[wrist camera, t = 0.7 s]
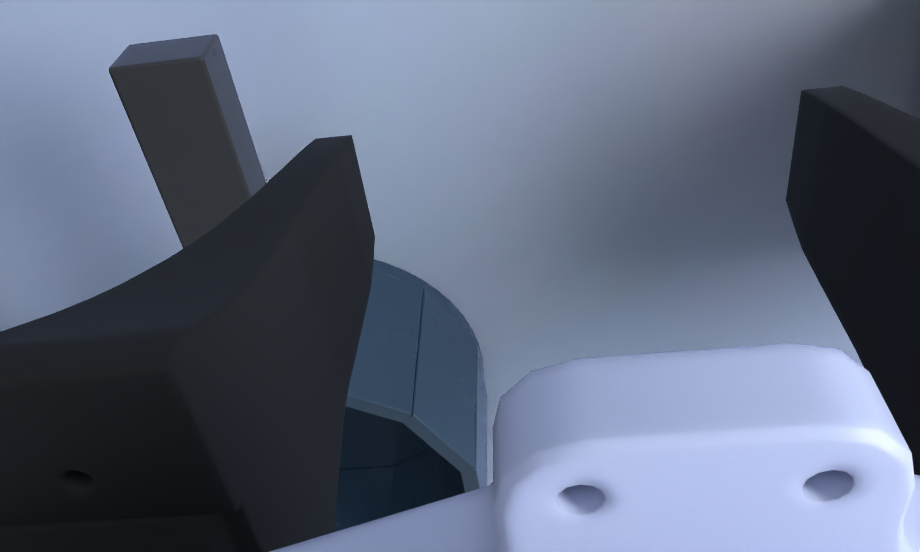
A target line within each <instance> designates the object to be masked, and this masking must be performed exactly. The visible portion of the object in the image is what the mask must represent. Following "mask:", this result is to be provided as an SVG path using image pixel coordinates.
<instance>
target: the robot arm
mask: <svg viewBox="0 0 920 552" xmlns="http://www.w3.org/2000/svg"><path fill="white" fill-rule="evenodd" d="M786 202H787V205H788V209H789V212H790V215H791V218H792V221H793V225H794V228H795V230H796V233H797V236H798V239H799V242H800V245H801V247H802V250H803V252H804V254H805V256H806V258H807V260H808V262H809V264H810V265H811V267H812V269H813V271H814V273H815V275H816V277H817V279H818V281H819V283H820V285H821V286H822V288H823V290H824V292H825V294H826V296H827V297H828V299H829V301H830V303H831V305H832V307H833V309H834V310H835V312H836V314H837V316H838V318H839V320H840V322H841V323H842V325H843V327H844V329H845V331H846V333H847V335H848V336H849V338H850V340H851V342H852V344H853V346H854V348H855V349H856V352H857V354H858V356H859V358H860V360H861V362H862V364H863V366H864V367H862V366H861V365H860V364H858V363H857V362H856V361H854V360H853V359H852V358H850V357H849V356H848V355H846V354H845V353H844V352H842V351H841V350H840V349H834V348H826V347H818V346H810V345H801V344H793V343H787V344H773V345H759V346H745V347H732V348H718V349H704V350H690V351H676V352H662V353H649V354H635V355H621V356H607V357H593V358H579V359H574V360H571V361H567V362H563V363H559V364H556V365H552V366H548V367H545V368H541V369H537V370H533V371H531V372H530V373H528V374H527V375H526V376H525V377H524V378H522V379H521V380H520V381H519V382H518V383H517V384H515V385H514V386H513V387H512V388H511V389H509V390H508V391H507V392H506V393H505V394H504V395H502V396H501V397H500V401H499V405H498V409H497V413H496V418H495V422H494V426H493V483H492V484H491V485H489V486H486V487H483V488H480V489H476V490H473V491H470V492H466V493H463V494H460V495H456V496H453V497H450V498H446V499H443V500H440V501H436V502H433V503H430V504H426V505H423V506H420V507H416V508H413V509H410V510H406V511H403V512H400V513H396V514H393V515H390V516H386V517H383V518H380V519H376V520H373V521H370V522H366V523H363V524H360V525H356V526H353V527H350V528H346V529H343V530H340V531H336V532H335V519H336V504H337V491H338V479H339V467H340V455H341V445H342V435H343V425H344V415H345V406H346V400H347V395H348V389H349V383H350V379H351V375H352V370H353V366H354V361H355V357H356V353H357V348H358V344H359V339H360V335H361V331H362V326H363V322H364V317H365V313H366V308H367V303H368V299H369V294H370V289H371V284H372V272H373V259H374V242H375V235H374V231H373V226H372V222H371V218H370V213H369V209H368V204H367V200H366V196H365V191H364V187H363V183H362V178H361V174H360V169H359V165H358V161H357V156H356V152H355V148H354V143H353V139H352V135H349V136H339V137H329V138H319V139H315V140H314V141H312V142H311V143H310V144H309V145H307V146H306V147H305V148H304V149H303V150H302V151H301V152H300V153H298V154H297V155H296V156H295V157H294V158H293V159H292V160H291V161H290V162H289V163H288V164H287V165H286V166H285V167H284V168H283V169H282V170H280V171H279V172H278V173H277V174H276V175H275V176H274V177H273V178H272V179H271V180H270V181H269V182H268V183H266V184H265V185H264V186H263V187H262V188H261V189H260V190H259V191H258V192H257V193H256V194H254V195H253V196H252V197H251V198H250V199H248V200H247V201H246V202H245V203H244V204H242V205H241V206H240V207H239V208H238V209H236V210H235V211H234V212H233V213H232V214H230V215H229V216H228V217H227V218H226V219H224V220H223V221H222V222H221V223H220V224H218V225H217V226H216V227H214V228H213V229H212V230H210V231H209V232H207V233H206V234H205V235H203V236H202V237H200V238H199V239H198V240H196V241H195V242H193V243H192V244H190V245H188V246H187V247H185V248H184V249H182V250H181V251H179V252H178V253H176V254H175V255H173V256H171V257H170V258H168V259H166V260H165V261H163V262H161V263H159V264H157V265H156V266H154V267H152V268H150V269H148V270H146V271H145V272H143V273H141V274H139V275H137V276H135V277H134V278H132V279H130V280H128V281H126V282H125V283H122V284H120V285H118V286H116V287H114V288H112V289H110V290H108V291H106V292H103V293H101V294H99V295H97V296H95V297H92V298H90V299H88V300H85V301H83V302H81V303H78V304H76V305H74V306H71V307H69V308H66V309H64V310H61V311H59V312H56V313H53V314H51V315H48V316H45V317H42V318H39V319H36V320H33V321H30V322H27V323H25V324H22V325H19V326H16V327H13V328H10V329H7V330H4V331H1V332H0V552H920V120H919V119H917V118H915V117H913V116H911V115H909V114H906V113H904V112H902V111H900V110H898V109H896V108H894V107H892V106H889V105H887V104H885V103H883V102H881V101H879V100H876V99H874V98H872V97H870V96H867V95H865V94H863V93H860V92H858V91H855V90H853V89H850V88H846V87H843V86H838V87H828V88H818V89H808V90H801V97H800V104H799V111H798V118H797V125H796V132H795V139H794V146H793V153H792V161H791V168H790V175H789V182H788V189H787V196H786Z"/></svg>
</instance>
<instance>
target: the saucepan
mask: <svg viewBox="0 0 920 552" xmlns="http://www.w3.org/2000/svg"><path fill="white" fill-rule="evenodd" d="M109 73H110V75H111V78H112V80H113V82H114V85H115V87H116V89H117V92H118V94H119V97H120V99H121V101H122V104H123V106H124V109H125V111H126V113H127V116H128V118H129V120H130V123H131V125H132V128H133V130H134V132H135V135H136V137H137V139H138V142H139V144H140V147H141V149H142V151H143V154H144V156H145V159H146V161H147V163H148V166H149V168H150V170H151V173H152V175H153V178H154V180H155V182H156V185H157V187H158V189H159V192H160V194H161V197H162V199H163V201H164V204H165V206H166V209H167V211H168V213H169V216H170V218H171V220H172V223H173V225H174V228H175V230H176V232H177V235H178V237H179V240H180V242H181V244H182V247H183V249H184V248H185V247H187V246H188V245H190V244H192V243H193V242H195V241H196V240H198V239H199V238H200V237H202V236H203V235H205V234H206V233H207V232H209V231H210V230H212V229H213V228H214V227H216V226H217V225H218V224H220V223H221V222H222V221H223V220H224V219H226V218H227V217H228V216H229V215H230V214H232V213H233V212H234V211H235V210H236V209H238V208H239V207H240V206H241V205H242V204H244V203H245V202H246V201H247V200H248V199H250V198H251V197H252V196H253V195H254V194H256V193H257V192H258V191H259V190H260V189H261V188H262V187H263V186H264V185H265V184H266V181H265V178H264V175H263V172H262V169H261V166H260V163H259V160H258V157H257V154H256V151H255V147H254V144H253V141H252V138H251V135H250V132H249V129H248V126H247V123H246V120H245V117H244V113H243V110H242V107H241V104H240V101H239V98H238V95H237V92H236V89H235V86H234V83H233V80H232V76H231V73H230V70H229V67H228V64H227V61H226V58H225V55H224V52H223V49H222V46H221V42H220V39H219V37H218V35H215V34H213V35H205V36H197V37H189V38H181V39H173V40H165V41H157V42H149V43H141V44H133V45H129V46H128V47H127V48H126V49H125V50H124V51H123V53H122V54H121V55H120V56H119V57H118V58H117V60H116V61H115V62H114V63H113V64H112V65H111V67H110V68H109ZM486 486H487V397H486V390H485V384H484V378H483V362H482V356H481V352H480V348H479V344H478V342H477V340H476V337H475V335H474V333H473V330H472V329H471V327H470V326H469V324H468V323H467V321H466V320H465V318H464V316H463V315H462V314H461V313H460V312H459V311H458V309H457V308H456V307H455V306H454V305H453V304H452V303H451V302H450V301H449V300H448V299H447V298H446V297H445V296H443V295H442V294H441V293H440V292H439V291H438V290H436V289H435V288H433V287H432V286H430V285H429V284H427V283H426V282H424V281H423V280H421V279H420V278H418V277H416V276H414V275H412V274H410V273H408V272H406V271H404V270H402V269H399V268H397V267H394V266H392V265H389V264H387V263H384V262H381V261H377V260H373V272H372V284H371V289H370V294H369V299H368V303H367V308H366V313H365V317H364V322H363V326H362V331H361V335H360V339H359V344H358V348H357V353H356V357H355V361H354V366H353V370H352V375H351V379H350V383H349V389H348V395H347V400H346V406H345V415H344V425H343V435H342V445H341V455H340V467H339V479H338V491H337V504H336V519H335V532H336V531H340V530H343V529H346V528H350V527H353V526H356V525H360V524H363V523H366V522H370V521H373V520H376V519H380V518H383V517H386V516H390V515H393V514H396V513H400V512H403V511H406V510H410V509H413V508H416V507H420V506H423V505H426V504H430V503H433V502H436V501H440V500H443V499H446V498H450V497H453V496H456V495H460V494H463V493H466V492H470V491H473V490H476V489H480V488H483V487H486Z"/></svg>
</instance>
